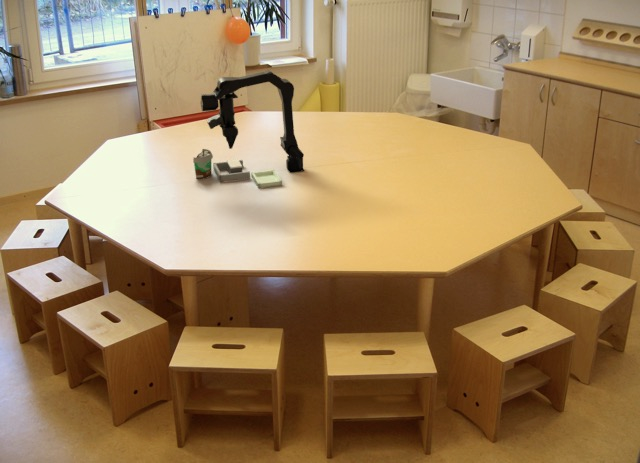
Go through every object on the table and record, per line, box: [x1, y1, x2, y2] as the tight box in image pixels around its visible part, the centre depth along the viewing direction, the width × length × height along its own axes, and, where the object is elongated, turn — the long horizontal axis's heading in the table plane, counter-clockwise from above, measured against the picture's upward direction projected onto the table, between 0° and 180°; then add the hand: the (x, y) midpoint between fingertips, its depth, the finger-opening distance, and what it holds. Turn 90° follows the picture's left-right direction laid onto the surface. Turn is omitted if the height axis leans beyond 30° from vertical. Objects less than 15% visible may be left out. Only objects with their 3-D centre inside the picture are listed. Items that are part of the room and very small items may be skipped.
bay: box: [212, 159, 251, 183], centre depth 329 cm, size 13×16×3 cm
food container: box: [192, 148, 214, 180], centre depth 326 cm, size 12×6×10 cm, turn 168°
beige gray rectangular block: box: [226, 158, 244, 174], centre depth 329 cm, size 5×9×5 cm, turn 17°
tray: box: [250, 169, 283, 189], centre depth 321 cm, size 10×14×2 cm
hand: (229, 145), depth 320 cm, fingers open, 9 cm apart
